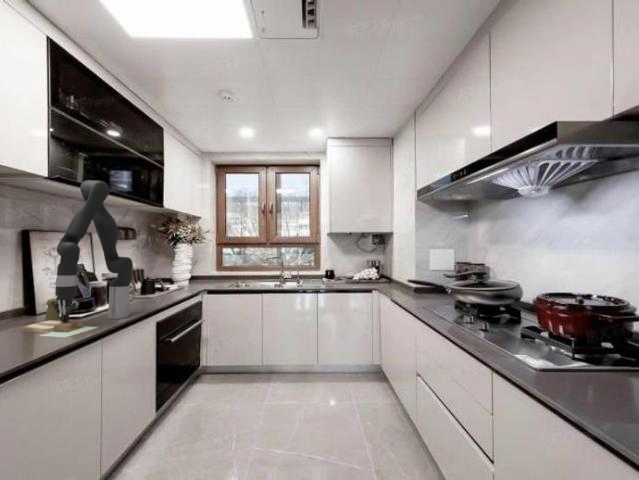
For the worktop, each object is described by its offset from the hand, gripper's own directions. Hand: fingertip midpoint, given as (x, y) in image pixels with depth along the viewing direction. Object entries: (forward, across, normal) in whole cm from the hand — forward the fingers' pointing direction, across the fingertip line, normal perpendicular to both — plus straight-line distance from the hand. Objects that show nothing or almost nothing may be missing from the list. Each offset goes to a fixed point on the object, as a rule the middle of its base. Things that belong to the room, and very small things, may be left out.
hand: (64, 322), depth 135 cm
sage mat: (+4, -6, +2) cm, 7 cm away
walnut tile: (+2, -3, 0) cm, 3 cm away
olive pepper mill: (+4, +21, -12) cm, 25 cm away
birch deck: (+4, +8, 0) cm, 9 cm away
